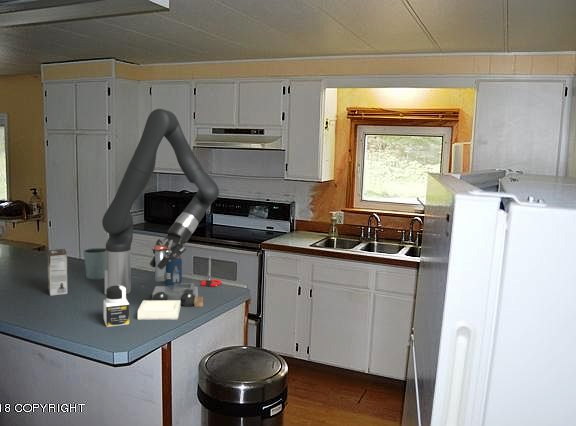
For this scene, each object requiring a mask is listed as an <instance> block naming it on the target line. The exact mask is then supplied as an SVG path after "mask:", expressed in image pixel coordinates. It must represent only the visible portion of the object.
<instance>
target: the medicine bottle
mask: <svg viewBox="0 0 576 426" xmlns="http://www.w3.org/2000/svg"><path fill="white" fill-rule="evenodd" d="M105 295H106V299H103V320H104V324H105V326H106V328H109V327H117V326H126V325H129V324H130V302H129V301H128V299H127V294H126V288H125V287H123V286H118V285H117V286H111V287H109V288H107V289H106V294H105Z"/></svg>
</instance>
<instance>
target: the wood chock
mask: <svg viewBox="0 0 576 426" xmlns="http://www.w3.org/2000/svg"><path fill="white" fill-rule="evenodd" d="M194 307H196V308H197V307H201V308H202V307H204V296H198V297H195V305H194Z"/></svg>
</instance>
